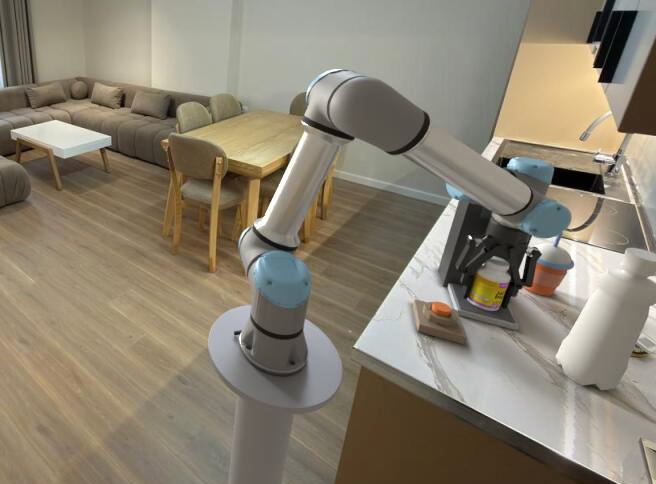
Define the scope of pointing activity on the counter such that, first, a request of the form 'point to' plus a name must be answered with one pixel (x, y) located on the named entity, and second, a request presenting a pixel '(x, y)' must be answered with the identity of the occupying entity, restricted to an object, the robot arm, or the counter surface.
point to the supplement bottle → (490, 284)
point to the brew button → (441, 309)
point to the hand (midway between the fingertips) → (483, 300)
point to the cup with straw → (550, 268)
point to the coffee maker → (465, 223)
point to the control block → (438, 322)
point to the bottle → (610, 323)
